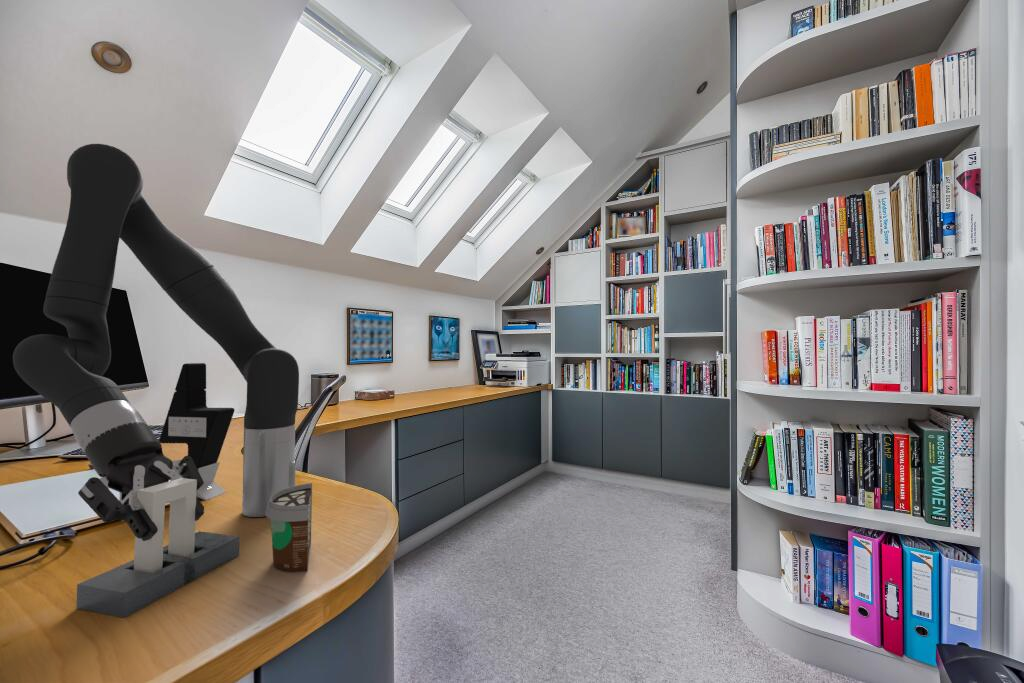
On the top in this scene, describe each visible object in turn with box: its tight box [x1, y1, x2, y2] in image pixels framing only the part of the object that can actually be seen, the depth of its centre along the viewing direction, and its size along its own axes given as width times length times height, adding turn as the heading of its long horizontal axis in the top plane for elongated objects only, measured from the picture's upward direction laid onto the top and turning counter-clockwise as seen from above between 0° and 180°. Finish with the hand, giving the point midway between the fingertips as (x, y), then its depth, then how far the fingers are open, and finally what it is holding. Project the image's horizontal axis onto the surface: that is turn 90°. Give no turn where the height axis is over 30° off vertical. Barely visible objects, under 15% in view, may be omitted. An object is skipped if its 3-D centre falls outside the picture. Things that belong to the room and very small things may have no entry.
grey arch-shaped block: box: [133, 478, 197, 573], centre depth 59 cm, size 6×3×11 cm, turn 167°
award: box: [158, 362, 235, 501], centre depth 95 cm, size 15×5×30 cm, turn 81°
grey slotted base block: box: [76, 531, 240, 618], centre depth 59 cm, size 16×8×3 cm, turn 167°
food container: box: [265, 482, 313, 573], centre depth 64 cm, size 12×6×10 cm, turn 23°
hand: (176, 526), depth 59 cm, fingers closed on grey arch-shaped block, 6 cm apart
